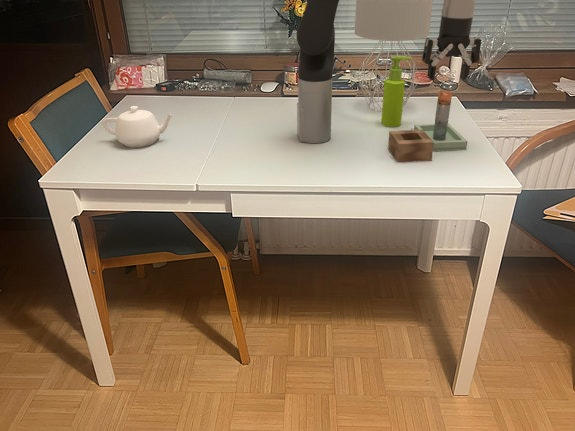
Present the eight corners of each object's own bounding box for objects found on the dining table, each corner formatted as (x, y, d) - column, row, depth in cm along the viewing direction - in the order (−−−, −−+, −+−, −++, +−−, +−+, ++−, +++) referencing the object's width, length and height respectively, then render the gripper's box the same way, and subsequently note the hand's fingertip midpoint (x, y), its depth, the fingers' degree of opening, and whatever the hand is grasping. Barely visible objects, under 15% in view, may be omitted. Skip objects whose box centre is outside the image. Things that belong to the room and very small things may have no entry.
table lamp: (406, 122, 161) (421, -22, 141) (339, 111, 171) (344, -25, 151) (429, 102, 178) (445, -30, 158) (366, 92, 188) (374, -32, 168)
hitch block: (397, 162, 136) (399, 144, 134) (387, 148, 144) (389, 131, 142) (431, 160, 137) (433, 142, 135) (420, 146, 145) (422, 129, 142)
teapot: (180, 133, 156) (176, 99, 151) (172, 149, 146) (167, 114, 141) (112, 133, 157) (106, 100, 151) (99, 150, 146) (92, 114, 141)
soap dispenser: (404, 127, 157) (411, 59, 148) (380, 126, 159) (386, 58, 149) (404, 121, 162) (411, 54, 152) (381, 119, 164) (386, 53, 154)
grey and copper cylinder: (435, 141, 146) (441, 94, 140) (430, 136, 149) (436, 90, 143) (447, 140, 147) (454, 94, 140) (443, 135, 150) (449, 90, 143)
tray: (429, 151, 142) (431, 143, 141) (413, 132, 154) (414, 124, 153) (466, 149, 143) (467, 141, 142) (447, 131, 155) (448, 123, 154)
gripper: (434, 17, 128) (425, 84, 136) (491, 16, 129) (479, 82, 137) (424, 12, 134) (416, 76, 142) (478, 11, 136) (467, 74, 144)
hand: (447, 79), depth 140 cm, fingers open, 8 cm apart
